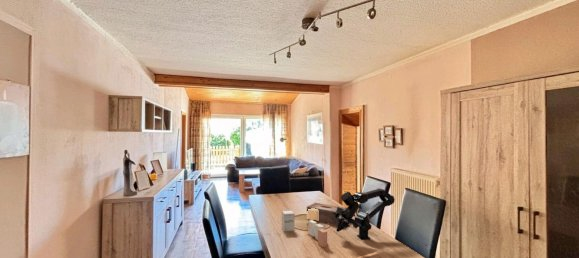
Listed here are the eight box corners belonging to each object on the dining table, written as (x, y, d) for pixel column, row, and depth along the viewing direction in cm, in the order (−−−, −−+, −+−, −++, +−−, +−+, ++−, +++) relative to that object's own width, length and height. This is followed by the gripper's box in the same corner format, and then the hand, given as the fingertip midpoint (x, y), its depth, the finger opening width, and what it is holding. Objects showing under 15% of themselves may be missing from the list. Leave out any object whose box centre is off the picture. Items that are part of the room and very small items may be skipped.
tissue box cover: (306, 219, 204) (306, 206, 204) (315, 214, 216) (315, 202, 216) (338, 226, 190) (338, 212, 190) (345, 220, 202) (345, 207, 202)
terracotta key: (322, 243, 157) (322, 228, 157) (327, 246, 153) (327, 231, 153) (317, 244, 156) (318, 229, 156) (322, 247, 151) (322, 232, 151)
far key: (312, 233, 173) (312, 220, 173) (316, 235, 168) (316, 222, 169) (308, 233, 171) (308, 220, 172) (312, 236, 167) (312, 223, 167)
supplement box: (283, 233, 175) (283, 214, 175) (281, 229, 182) (281, 210, 183) (294, 232, 177) (294, 213, 177) (291, 228, 184) (292, 210, 184)
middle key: (319, 237, 166) (319, 223, 166) (323, 240, 161) (323, 226, 162) (315, 238, 164) (315, 224, 165) (319, 241, 160) (319, 227, 160)
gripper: (334, 198, 170) (320, 218, 165) (354, 205, 154) (339, 228, 148) (344, 209, 174) (330, 229, 169) (364, 217, 157) (350, 239, 152)
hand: (337, 231), depth 159 cm, fingers closed
